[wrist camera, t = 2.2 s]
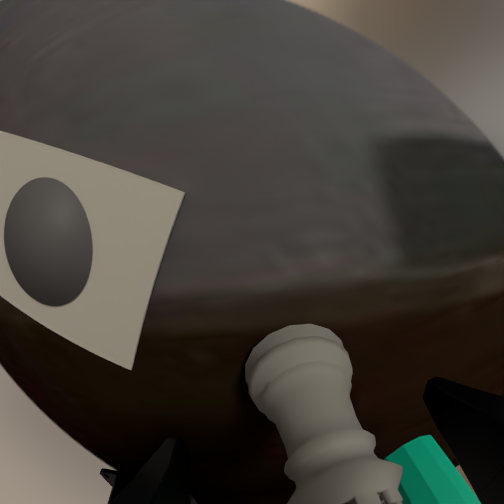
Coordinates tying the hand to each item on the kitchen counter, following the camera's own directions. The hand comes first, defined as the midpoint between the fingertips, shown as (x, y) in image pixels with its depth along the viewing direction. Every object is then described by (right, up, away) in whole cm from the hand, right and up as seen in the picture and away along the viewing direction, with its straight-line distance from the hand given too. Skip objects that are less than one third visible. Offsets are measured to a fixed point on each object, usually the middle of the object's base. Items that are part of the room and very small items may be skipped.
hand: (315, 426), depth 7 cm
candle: (+11, -11, +7) cm, 17 cm away
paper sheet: (-11, +6, +2) cm, 13 cm away
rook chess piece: (0, +1, +4) cm, 4 cm away
